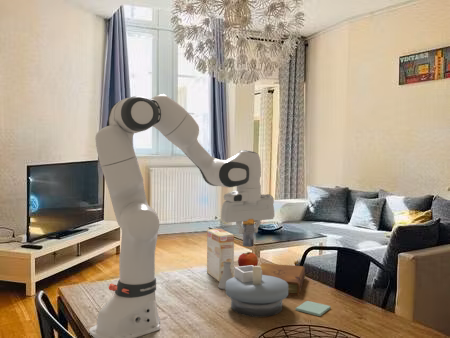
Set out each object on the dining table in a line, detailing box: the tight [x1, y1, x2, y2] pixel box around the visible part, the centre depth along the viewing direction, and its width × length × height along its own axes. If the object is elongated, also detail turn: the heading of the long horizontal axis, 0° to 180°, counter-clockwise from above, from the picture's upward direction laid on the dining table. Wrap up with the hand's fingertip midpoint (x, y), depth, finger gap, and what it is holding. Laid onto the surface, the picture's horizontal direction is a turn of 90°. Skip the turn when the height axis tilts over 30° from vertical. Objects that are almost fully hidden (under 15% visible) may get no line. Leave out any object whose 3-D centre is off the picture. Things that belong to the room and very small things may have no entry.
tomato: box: [237, 251, 259, 267], centre depth 202 cm, size 9×9×8 cm
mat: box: [295, 300, 331, 317], centre depth 154 cm, size 9×9×1 cm
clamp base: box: [230, 298, 283, 318], centre depth 156 cm, size 18×18×5 cm
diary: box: [259, 262, 306, 296], centre depth 181 cm, size 23×19×6 cm
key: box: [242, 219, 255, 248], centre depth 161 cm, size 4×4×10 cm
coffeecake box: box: [206, 228, 235, 283], centre depth 191 cm, size 15×7×20 cm, turn 23°
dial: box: [225, 265, 289, 303], centre depth 156 cm, size 22×22×9 cm
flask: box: [217, 262, 232, 291], centre depth 177 cm, size 7×7×10 cm
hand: (248, 232), depth 161 cm, fingers closed on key, 4 cm apart
